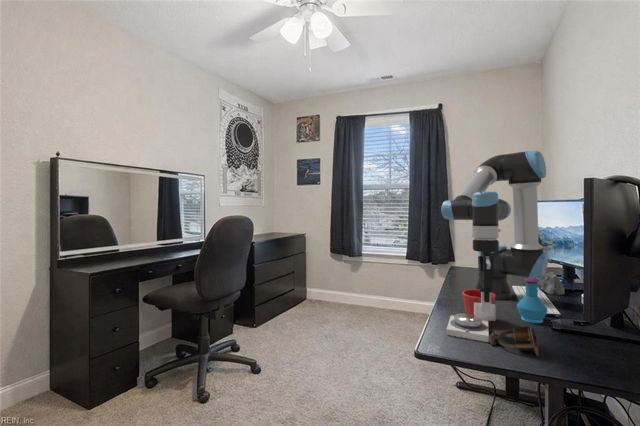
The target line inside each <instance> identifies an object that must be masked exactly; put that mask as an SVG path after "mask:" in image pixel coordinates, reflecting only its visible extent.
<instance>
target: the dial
mask: <svg viewBox="0 0 640 426" xmlns="http://www.w3.org/2000/svg"><path fill="white" fill-rule="evenodd" d="M453 316H454V322H455V324H457V325H459V326H461V327H465V328H480V327H482V320H490V322H491V321H493V322H496V304H495V303H494V304H491V312H482V310H481V303H474V315H473V314H467V313H466V312H463V313H462V312H461V313H455V314H454V315H453Z"/></svg>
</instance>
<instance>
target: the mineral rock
mask: <svg viewBox="0 0 640 426" xmlns="http://www.w3.org/2000/svg"><path fill="white" fill-rule="evenodd" d="M538 280H539V282H537V283H538V289H539V290H542V291H543V292H545V293H547V294H549V295H553V296H554V295H555V296H561V295H564V294H565V293H566V292H565V287H564V285H563V283H562V281H561V279H560V278H559V277H558V276H557V274H555V273H554V272H553V271H549V272H547V273H546V272H545V275H544V276H543V277H542V278H539V279H538Z"/></svg>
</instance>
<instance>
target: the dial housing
mask: <svg viewBox="0 0 640 426" xmlns="http://www.w3.org/2000/svg"><path fill="white" fill-rule="evenodd" d="M489 329H490V328H489V322H488V321H487V320H482V327H480V328H465V327H461V326H459V325H457V324H455V322H454V315H450V317H449V320H448V324H447V325H446V336H449V335H450V337H455V336H456V338H461V337H462V339H466V338H467V340H473V341H479V342H485V343H490V342H489V335H490V334H489Z"/></svg>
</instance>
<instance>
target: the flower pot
mask: <svg viewBox="0 0 640 426" xmlns="http://www.w3.org/2000/svg"><path fill="white" fill-rule="evenodd" d="M461 293H462V298H463V304H464V310H465V313H467V314H473V315H474V303H481V292H480V290H474V289H465V290H463V291H462V292H461ZM495 297H496V296H495V294H493V293H491V304H494V305H495V303H496V299H495ZM487 321H488V323H491V321H490V320H487Z"/></svg>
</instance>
